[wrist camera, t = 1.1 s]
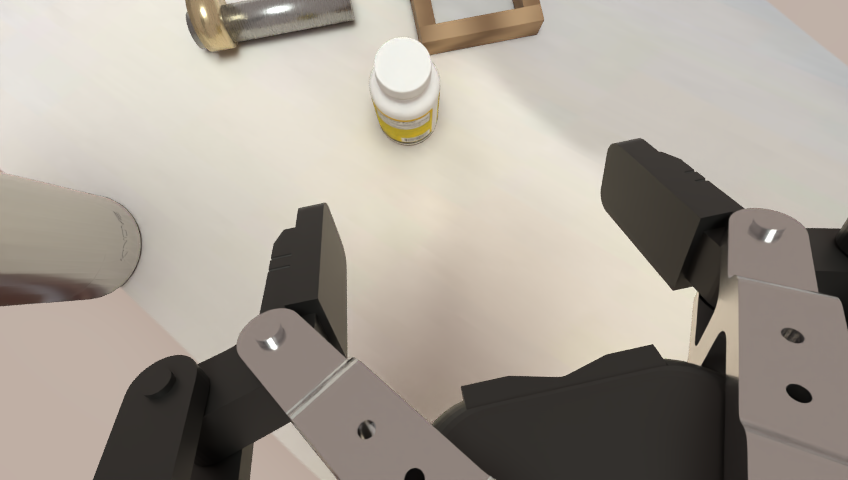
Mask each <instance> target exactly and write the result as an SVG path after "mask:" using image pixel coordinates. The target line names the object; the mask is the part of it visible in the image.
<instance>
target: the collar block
mask: <svg viewBox="0 0 848 480" xmlns="http://www.w3.org/2000/svg"><path fill="white" fill-rule="evenodd" d="M410 1H411V6H412V11H413V15H414V20H415V25H416V29H417V34H418V39H419V42H420V43H421V44H422V45H423V46H424V47H425V48H426V49H427V51H428V52H429V55H432V54H437V53H442V52H447V51H453V50H458V49H463V48H468V47H473V46H479V45H484V44H489V43H494V42H499V41H505V40H510V39H515V38H520V37H525V36H531V35H536V34H537V33H538V31H539V29H540V27H541V25H542V23H543V21H544V17H543V13H542V9H541V5H540V1H539V0H513V3H514V8H515V9H512V10H506V11H501V12H496V13H491V14H485V15H480V16H475V17H470V18H464V19H459V20H454V21H448V22H443V23H438V24H436V23H435V18H434V14H433V9H432V5H431V0H410Z"/></svg>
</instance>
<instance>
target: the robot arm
mask: <svg viewBox="0 0 848 480" xmlns="http://www.w3.org/2000/svg"><path fill="white" fill-rule="evenodd" d="M601 200H602V204H603V207H604V209H605V210H606V212H607V213H608V214H609V215H610V216H611V218H612V219H613V220H614V221H615V222H616V224H617V225H618V226H619V227H620V228H621V230H622V231H623V232H624V233H625V234H626V235H627V237H628V238H629V239H630V240H631V241H632V243H633V244H634V245H635V246H636V247H637V249H638V250H639V251H640V252H641V253H642V254H643V256H644V257H645V258H646V259H647V260H648V262H649V263H650V264H651V265H652V266H653V268H654V269H655V270H656V271H657V272H658V273H659V275H660V276H661V277H662V278H663V279H664V281H665V282H666V283H667V284H668V285H669V287H670V288H671V289H672V290H673V291H674V290H678V289H683V288H688V287H692V286H693V287H694V288H695V289H696V290H697V293H696V295H695V297H694V301H693V311H692V322H691V333H690V344H689V355H688V360H687V362H684V361H679V360H671V359H663V358H662V357H661V355H660V354H659V352H658V351H657V349H656V348H655V346H654V345H653V344H652V345H648V346H643V347H639V348H634V349H630V350H625V351H620V352H616V353H611V354H607V355H605V356H603V357H601V358H599V359H597V360H595V361H593V362H591V363H589V364H587V365H585V366H584V367H582V368H580V369H578V370H576V371H574V372H572V373H570V374H568V375H566V376H563V377H529V376H506V377H502V378H497V379H493V380H488V381H484V382H479V383H474V384H470V385H465V386H461V390H462V396H463V401H462V402H460V403H458V404H456V405H454V406H453V407H451V408H450V409H448V410H447V411H446V412H444V413H443V414H442V415H441V416H440V417H439V418H438V419H436V420H435V421H434V423H433V424H432V425H431V424H430V423H429V422H428V421H427V420H426V419H424V418H423V417H422V416H421V415H420V414H419V413H418V412H417V411H415V410H414V409H413V408H412V407H411V406H410V405H409V404H408V403H407V402H405V401H404V400H403V399H402V398H401V397H400V396H399V395H398V394H396V393H395V392H394V391H393V390H392V389H391V388H390V387H389V386H388V385H386V384H385V383H384V382H383V381H382V380H381V379H380V378H379V377H378V376H376V375H375V374H374V373H373V372H372V371H371V370H370V369H369V368H367V367H366V366H365V365H364V364H363V363H362V362H360V361H359V360H358V359H356V358H351V359H350V360H348V359H347V269H346V257H345V252H344V248H343V245H342V242H341V239H340V236H339V234H338V231H337V228H336V226H335V223H334V220H333V217H332V215H331V212H330V209H329V207H328V205H327V204H326V203H321V204H317V205H312V206H307V207H302V208H299V209H298V213H297V220H296V227H295V228H290V229H285V230H283V232H282V233H281V234H280V236H279V237H278V239H277V240H276V241H275V243H274V245H273V250H272V255H271V259H272V260H270V265H269V272H268V275H267V280H266V285H265V290H264V295H263V300H262V305H261V310H260V315H258V316H257V317H255V318H254V319H252V320H251V321H250V322H249V323H248V324H247V325H246V326H245V327H244V329H243V330H242V331H241V333H240V335H239V337H238V340H237V345H235V346H234V347H232V348H230V349H228V350H226V351H224V352H222V353H220V354H218V355H216V356H214V357H212V358H210V359H208V360H206V361H204V362H201V363H199V364H196V362H195V361H194V360H193V359H191V358H190V357H188V356H184V355H175V356H170V357H167V358H164V359H162V360H159V361H157V362H155V363H154V364H152V365H151V366H149V367H148V368H146V369H145V370H144V371H143V372H142V373H140V374H139V376H138V377H137V378H136V379H135V380H134V381H133V382H132V384H131V385H130V387H129V389H128V390H127V392H126V394H125V396H124V399H123V402H122V404H121V407H120V410H119V413H118V415H117V418H116V420H115V423H114V425H113V428H112V431H111V433H110V436H109V439H108V441H107V444H106V447H105V449H104V452H103V455H102V457H101V460H100V462H99V465H98V468H97V471H96V473H95V476H94V479H93V480H250V472H251V462H252V454H253V443H254V442H255V441H257V440H258V439H261V438H262V437H264V436H266V435H268V434H270V433H271V432H273V431H275V430H277V429H279V428H280V427H282V426H284V425H286V424H288V423H289V422H291V423H292V424H293V425H294V426H295V428H296V429H297V430H298V431H299V433H300V434H301V435H302V436H303V437H304V439H305V440H306V441H307V442H308V444H309V445H310V446H311V447H312V449H313V450H314V451H315V452H316V454H317V455H318V456H319V457H320V459H321V460H322V461H323V462H324V463H325V465H326V466H327V467H328V468H329V470H330V471H331V472H332V473H333V475H334V476H335V477H336V478H337V480H848V219H847V220H846V222H845V223H844V225H843V226H842V228H841V229H828V228H805V227H804V226H803V225H802V224H801V223H800V222H798V221H797V220H796V219H794V218H792V217H790V216H788V215H786V214H783V213H780V212H777V211H773V210H769V209H762V208H747V209H744V208H743V207H742V206H740V205H739V204H738V203H737V202H735V201H734V200H733V199H731V198H730V197H729V196H728V195H726V194H725V193H724V192H722V191H721V190H720V189H718V188H717V187H716V186H715V185H713V184H712V183H711V182H709V181H705V178H704V177H703V176H702V175H700V174H699V173H698V172H694V169H692V168H691V167H690V166H689V165H687V164H686V163H685V162H683V161H682V160H681V159H679V158H676V157H674V156H671V155H668V154H666V153H663V152H658V151H657V150H656V149H655V148H653V147H652V146H651V145H650V144H648V143H647V142H646V141H645V140H643V139H641V138H638V139H633V140H628V141H623V142H619V143H614V144H612V145H610V147H609V148H608V151H607V157H606V162H605V168H604V174H603V180H602V186H601ZM140 250H141V239H140V233H139V230H138V226H137V224H136V222H135V220H134V218H133V217H132V215H131V214H130V213H129V212H128V211H127V210H126V209H125V208H124V207H123V206H121V205H120V204H119V203H117V202H115V201H113V200H111V199H109V198H105V197H101V196H97V195H93V194H89V193H85V192H81V191H76V190H72V189H69V188H65V187H61V186H57V185H52V184H48V183H44V182H40V181H36V180H31V179H27V178H23V177H19V176H15V175H11V174H6V173H2V172H0V306H10V305H22V304H34V303H50V302H62V301H74V300H85V299H93V298H98V297H102V296H105V295H107V294H109V293H112V292H113V291H115V290H116V289H117V288H119V287H120V286H122V285H123V284H124V282H125V281H126V280H127V279H128V278H129V277H130V275H131V274H132V272H133V271H134V269H135V267H136V265H137V262H138V260H139V256H140Z"/></svg>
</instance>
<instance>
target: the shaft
mask: <svg viewBox="0 0 848 480" xmlns="http://www.w3.org/2000/svg"><path fill="white" fill-rule="evenodd" d="M185 1H186V7H187V11H188V12H187V13H186V21H187V25H188V28H189V31H190V33H191V35H192V37H193V39H194V41H195V42H196V44H197V45H198V46H199V47H200V48H202V49H204V48H207V49H208V50H209V51H210V52H215V51H221V50H226V49H231V48H236V47H237V42H241V41H246V40H251V39H257V38H262V37H267V36H273V35H278V34H283V33H288V32H294V31H299V30H304V29H310V28H315V27H320V26H326V25H331V24H336V23H342V22H347V21H352V20H354V15H353V10H352V5H351V0H247V1H241V2H236V3H230V4H226V2H225V0H185Z"/></svg>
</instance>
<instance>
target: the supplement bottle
mask: <svg viewBox="0 0 848 480" xmlns="http://www.w3.org/2000/svg"><path fill="white" fill-rule="evenodd" d="M369 87H370V93H371V97H372V101H373V104H374V107H375V111H376V114H377V117H378V121H379V123H380V126H381V128H382V130H383V132H384V133H385V134H386V135H387V136H388V137H389V138H390V139H391V140H393V141H394V142H397V143H399V144H403V145H413V144H417V143H420V142H422V141H424V140H425V139H427V138H428V137H429V136H430V135H431V133H432V132H433V130H434V129H435V126H436V123H437V118H438V107H439V96H440V77H439V73H438V71H437V68H436V67H435V65H434V64H433V62H432V61H431V57H430V55H429V52H428V51H427V49H426V48H425V47H424V46H423V45H422V44H421V43H420V42H419V41H417V40H415V39H412V38H409V37H397V38H393V39H391V40H389V41H387V42H386V43H384V44H383V45H382V46H381V47H380V48H379V50H378V52H377V53H376V56H375V59H374V67H373V69H372V72H371V75H370V81H369Z"/></svg>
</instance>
